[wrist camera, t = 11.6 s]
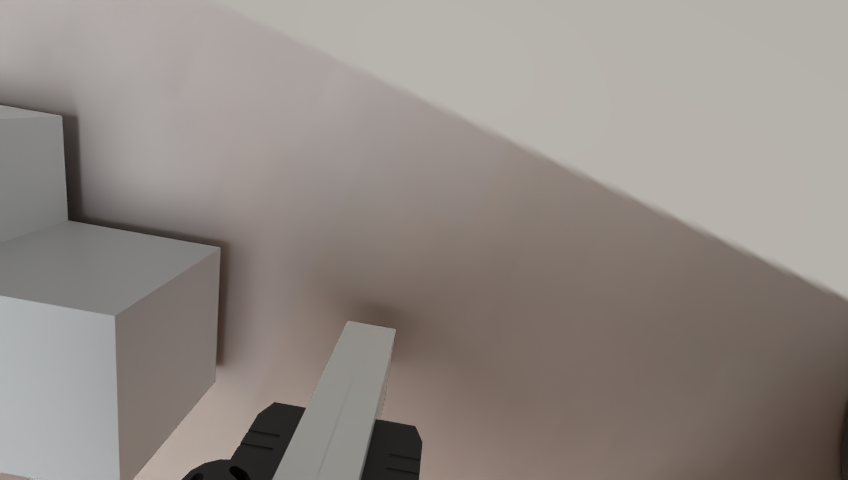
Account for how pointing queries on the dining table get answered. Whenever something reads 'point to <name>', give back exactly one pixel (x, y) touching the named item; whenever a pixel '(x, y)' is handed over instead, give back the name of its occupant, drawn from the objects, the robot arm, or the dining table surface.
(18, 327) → the drawer
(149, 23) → the dining table surface
